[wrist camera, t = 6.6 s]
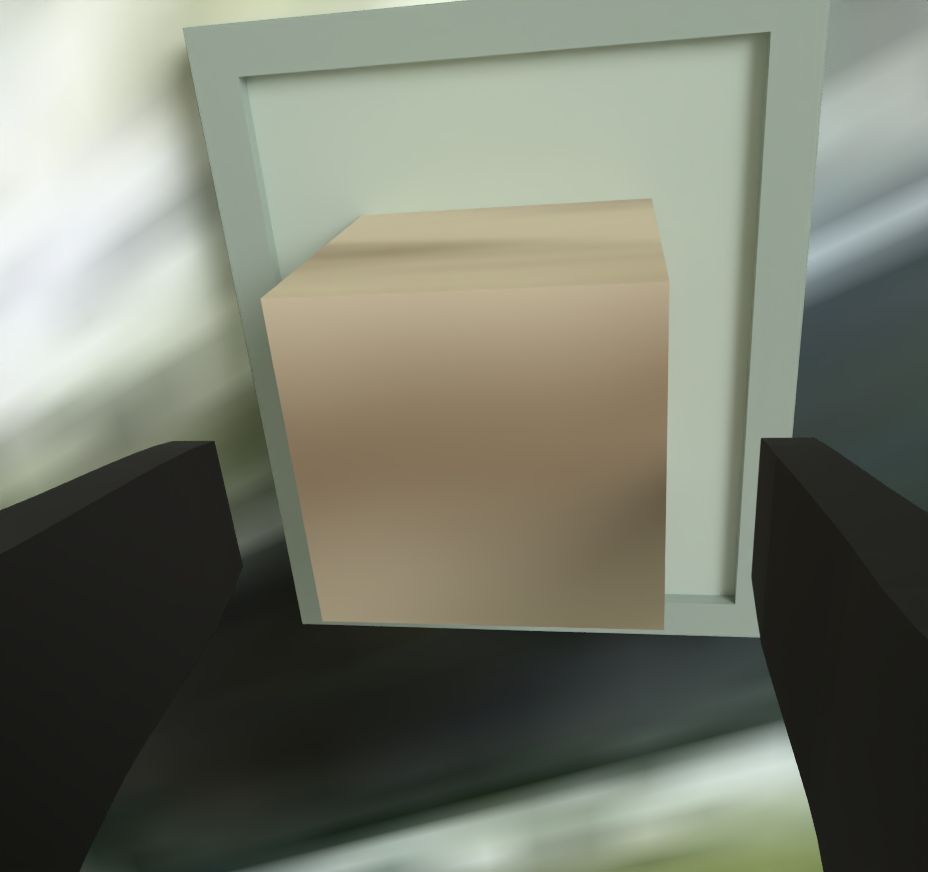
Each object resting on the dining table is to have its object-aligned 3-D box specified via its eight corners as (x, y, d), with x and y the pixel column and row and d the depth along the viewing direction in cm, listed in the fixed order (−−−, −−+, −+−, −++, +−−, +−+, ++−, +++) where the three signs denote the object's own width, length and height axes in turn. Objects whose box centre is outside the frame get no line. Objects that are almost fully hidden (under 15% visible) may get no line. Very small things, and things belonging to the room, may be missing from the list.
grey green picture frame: (766, 604, 18) (774, 638, 18) (317, 594, 20) (302, 623, 19) (817, -32, 13) (833, -35, 12) (210, 26, 15) (182, 27, 14)
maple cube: (649, 464, 17) (663, 630, 12) (395, 465, 17) (322, 621, 13) (651, 198, 14) (669, 281, 10) (362, 215, 15) (259, 298, 11)
